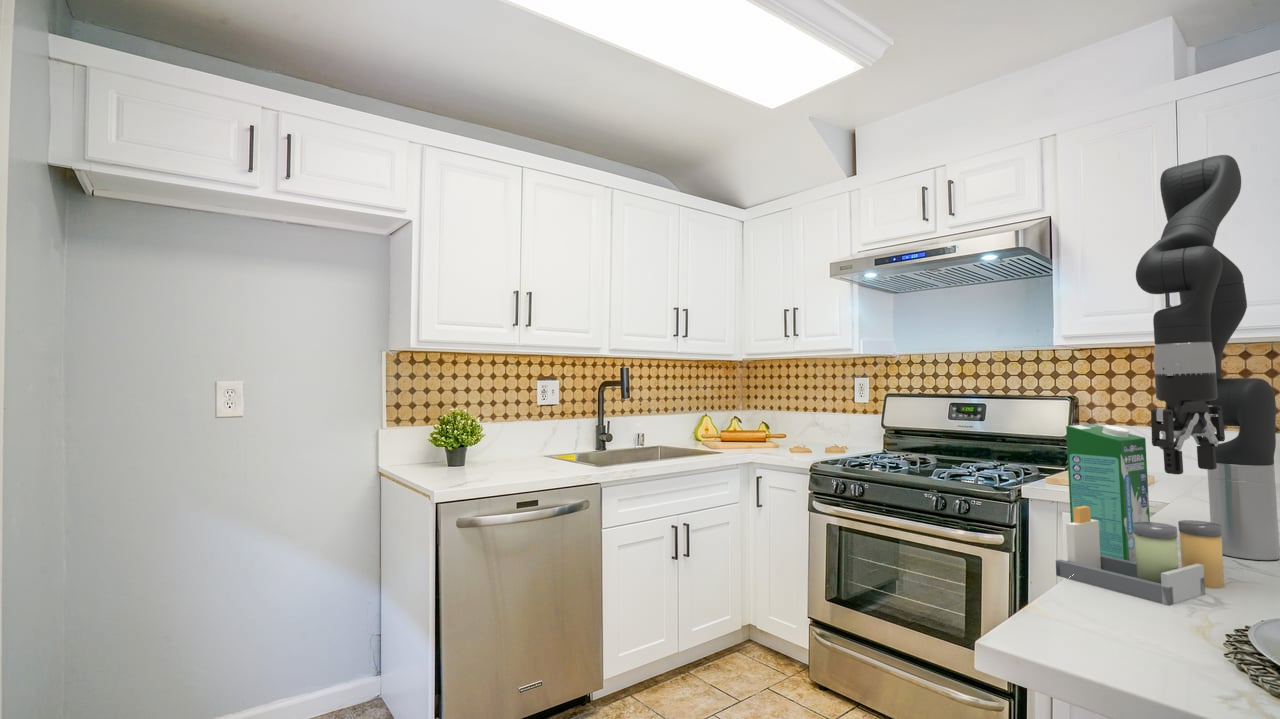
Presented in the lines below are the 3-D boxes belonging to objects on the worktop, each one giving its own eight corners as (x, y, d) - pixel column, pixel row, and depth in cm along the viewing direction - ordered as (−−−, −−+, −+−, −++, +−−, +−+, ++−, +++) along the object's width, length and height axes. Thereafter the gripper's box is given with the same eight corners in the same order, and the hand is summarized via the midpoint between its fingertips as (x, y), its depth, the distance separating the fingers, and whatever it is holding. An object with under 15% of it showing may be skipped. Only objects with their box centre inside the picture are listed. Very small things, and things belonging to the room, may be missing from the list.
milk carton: (1126, 568, 110) (1119, 427, 111) (1071, 556, 118) (1065, 425, 119) (1152, 561, 114) (1145, 425, 115) (1097, 549, 122) (1091, 422, 123)
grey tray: (1092, 571, 109) (1090, 541, 109) (1205, 599, 94) (1203, 564, 95) (1056, 580, 105) (1055, 549, 105) (1169, 610, 90) (1167, 574, 90)
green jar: (1148, 584, 99) (1144, 520, 100) (1187, 594, 94) (1184, 526, 95) (1129, 589, 97) (1125, 524, 97) (1169, 600, 92) (1165, 531, 93)
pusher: (1093, 567, 107) (1090, 504, 108) (1101, 569, 106) (1097, 505, 107) (1068, 573, 104) (1065, 508, 105) (1076, 575, 103) (1072, 510, 104)
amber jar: (1192, 580, 103) (1188, 519, 103) (1232, 590, 98) (1228, 525, 99) (1175, 585, 101) (1171, 522, 101) (1215, 595, 96) (1211, 529, 96)
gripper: (1185, 370, 107) (1191, 465, 106) (1130, 373, 102) (1136, 472, 101) (1239, 369, 100) (1246, 470, 99) (1183, 372, 95) (1190, 478, 94)
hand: (1190, 471), depth 100 cm, fingers open, 8 cm apart
